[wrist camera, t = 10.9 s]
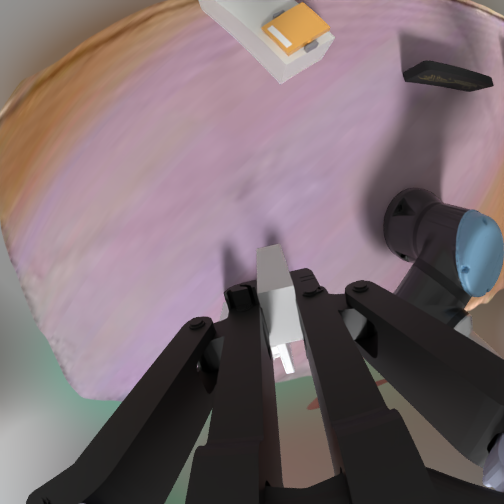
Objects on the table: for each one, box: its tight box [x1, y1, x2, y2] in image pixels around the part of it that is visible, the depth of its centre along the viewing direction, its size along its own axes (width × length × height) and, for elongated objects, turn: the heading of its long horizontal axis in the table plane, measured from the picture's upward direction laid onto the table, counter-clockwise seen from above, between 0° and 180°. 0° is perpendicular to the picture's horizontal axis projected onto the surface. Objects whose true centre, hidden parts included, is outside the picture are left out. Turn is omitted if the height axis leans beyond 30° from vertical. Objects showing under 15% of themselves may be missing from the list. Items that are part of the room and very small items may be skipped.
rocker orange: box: [261, 2, 330, 56], centre depth 29 cm, size 8×6×2 cm
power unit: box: [198, 0, 335, 85], centre depth 33 cm, size 10×24×12 cm, turn 39°
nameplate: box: [403, 61, 494, 92], centre depth 35 cm, size 21×2×10 cm, turn 100°
